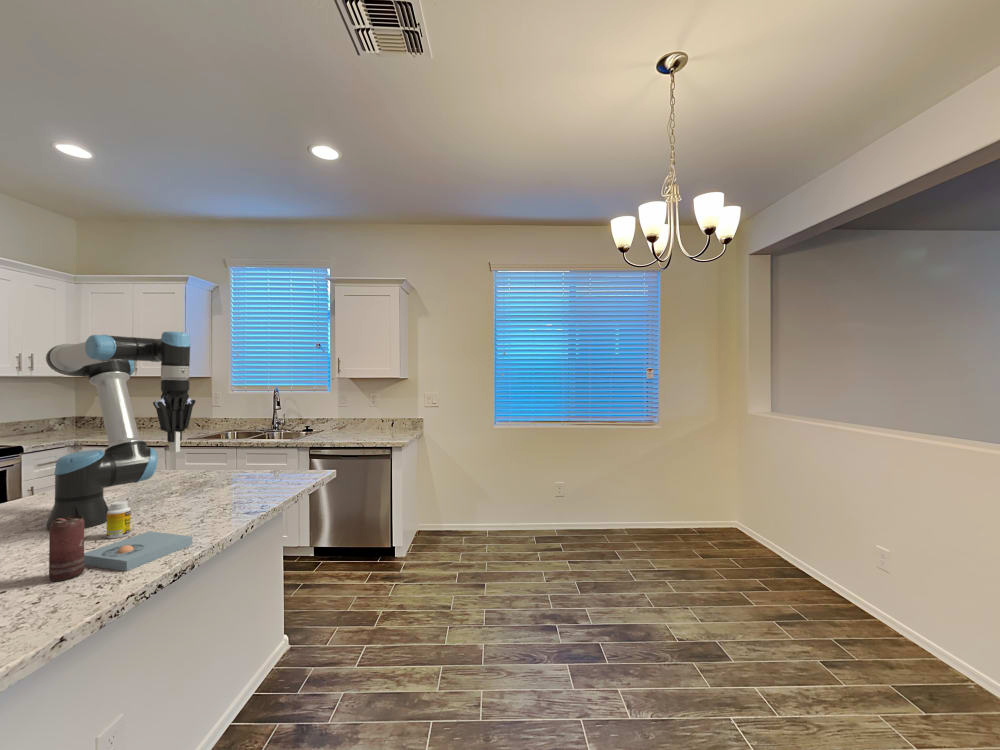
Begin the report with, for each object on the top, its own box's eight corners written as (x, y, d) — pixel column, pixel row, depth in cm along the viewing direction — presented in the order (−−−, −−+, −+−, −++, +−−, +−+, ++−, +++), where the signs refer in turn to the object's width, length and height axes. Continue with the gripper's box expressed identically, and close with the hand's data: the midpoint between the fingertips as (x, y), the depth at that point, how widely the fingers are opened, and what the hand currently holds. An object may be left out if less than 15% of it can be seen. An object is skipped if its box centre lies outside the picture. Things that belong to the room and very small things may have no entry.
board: (79, 564, 115) (79, 554, 115) (149, 539, 133) (149, 531, 133) (126, 571, 111) (126, 561, 111) (192, 544, 129) (192, 536, 129)
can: (63, 571, 111) (63, 515, 111) (90, 570, 112) (91, 515, 112) (40, 582, 105) (41, 523, 105) (69, 581, 105) (69, 522, 106)
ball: (112, 560, 117) (114, 546, 118) (127, 556, 121) (128, 542, 121) (122, 562, 116) (123, 548, 116) (136, 558, 120) (138, 544, 120)
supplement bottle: (127, 537, 134) (127, 503, 134) (103, 540, 132) (104, 505, 132) (132, 531, 139) (133, 499, 139) (110, 534, 137) (110, 501, 137)
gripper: (165, 379, 137) (164, 455, 137) (202, 379, 150) (201, 449, 150) (146, 379, 139) (145, 454, 139) (184, 379, 152) (184, 448, 152)
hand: (174, 451), depth 144 cm, fingers closed
